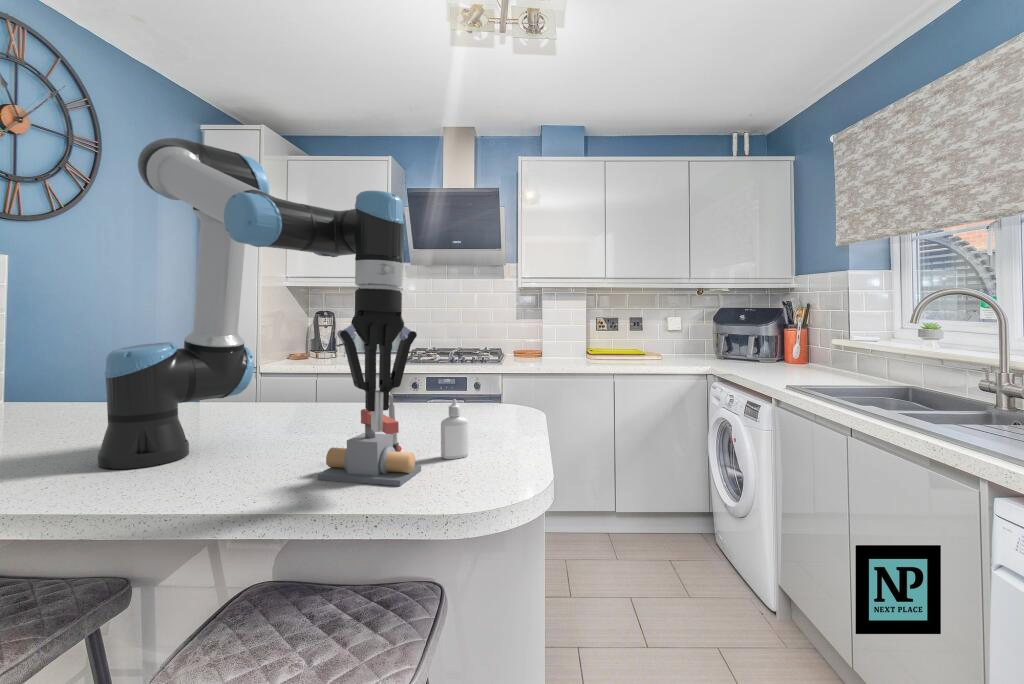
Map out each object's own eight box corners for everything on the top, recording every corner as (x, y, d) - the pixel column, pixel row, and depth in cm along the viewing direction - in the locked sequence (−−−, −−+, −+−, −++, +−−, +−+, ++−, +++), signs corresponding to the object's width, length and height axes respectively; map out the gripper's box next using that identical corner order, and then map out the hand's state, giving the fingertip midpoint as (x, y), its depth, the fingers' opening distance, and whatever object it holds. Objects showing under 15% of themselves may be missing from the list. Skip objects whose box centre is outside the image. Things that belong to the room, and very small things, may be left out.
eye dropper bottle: (466, 460, 104) (466, 401, 103) (439, 459, 104) (438, 401, 103) (469, 454, 108) (469, 398, 108) (443, 453, 108) (443, 397, 108)
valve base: (317, 479, 91) (316, 427, 91) (345, 465, 100) (344, 417, 100) (400, 486, 88) (399, 431, 87) (421, 470, 97) (420, 421, 96)
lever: (358, 421, 94) (358, 409, 94) (375, 419, 96) (375, 407, 96) (383, 436, 83) (383, 422, 82) (402, 434, 84) (401, 420, 84)
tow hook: (347, 463, 103) (392, 461, 103) (343, 399, 103) (388, 398, 102) (361, 452, 112) (403, 451, 111) (358, 393, 111) (400, 392, 111)
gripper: (344, 285, 78) (342, 438, 79) (423, 289, 84) (421, 431, 85) (333, 287, 84) (332, 429, 85) (408, 291, 91) (406, 423, 92)
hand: (376, 430), depth 85 cm, fingers closed
